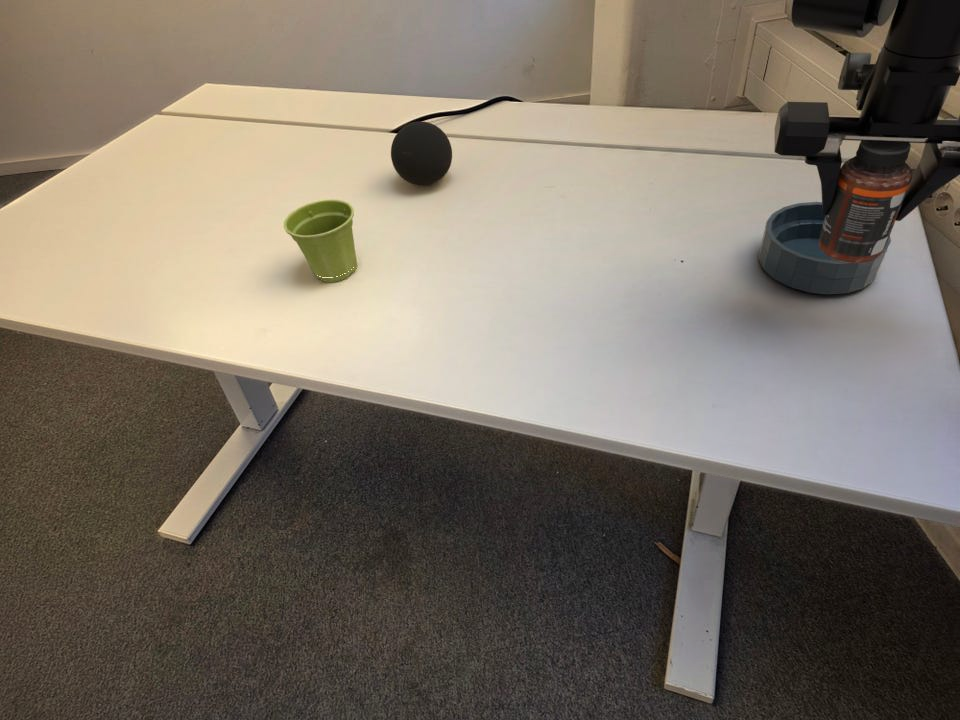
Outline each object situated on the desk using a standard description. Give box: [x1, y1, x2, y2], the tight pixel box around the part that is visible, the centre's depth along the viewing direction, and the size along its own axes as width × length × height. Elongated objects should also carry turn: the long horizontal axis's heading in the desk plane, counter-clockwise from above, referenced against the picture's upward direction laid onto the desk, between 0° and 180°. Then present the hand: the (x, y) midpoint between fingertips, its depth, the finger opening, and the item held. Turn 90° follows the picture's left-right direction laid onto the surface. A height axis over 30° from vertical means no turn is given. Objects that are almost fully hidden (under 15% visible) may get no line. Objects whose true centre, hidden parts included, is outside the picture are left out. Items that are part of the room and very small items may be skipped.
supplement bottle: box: [819, 141, 913, 263], centre depth 58 cm, size 6×6×11 cm
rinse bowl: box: [758, 201, 892, 295], centre depth 74 cm, size 13×13×5 cm
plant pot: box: [283, 199, 358, 283], centre depth 84 cm, size 9×9×9 cm
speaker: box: [390, 120, 453, 187], centre depth 99 cm, size 10×10×10 cm
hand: (860, 216), depth 59 cm, fingers closed on supplement bottle, 6 cm apart
